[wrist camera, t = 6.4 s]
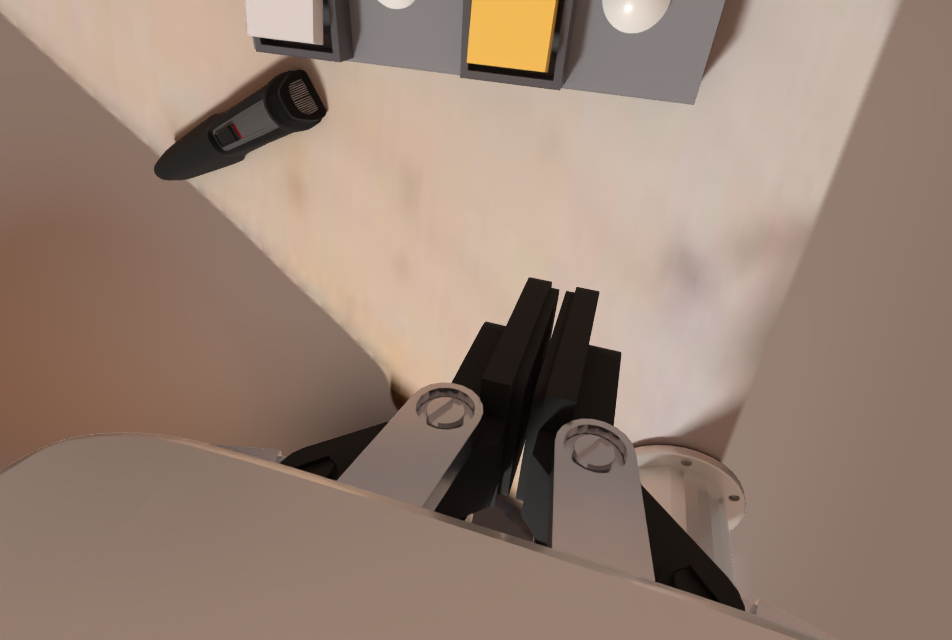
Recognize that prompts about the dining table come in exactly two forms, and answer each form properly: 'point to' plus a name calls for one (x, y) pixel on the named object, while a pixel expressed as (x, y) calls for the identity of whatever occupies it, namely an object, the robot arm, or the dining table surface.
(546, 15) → the amber rocker
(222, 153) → the electric trimmer
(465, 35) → the power strip
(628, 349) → the dining table surface
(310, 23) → the white rocker switch
